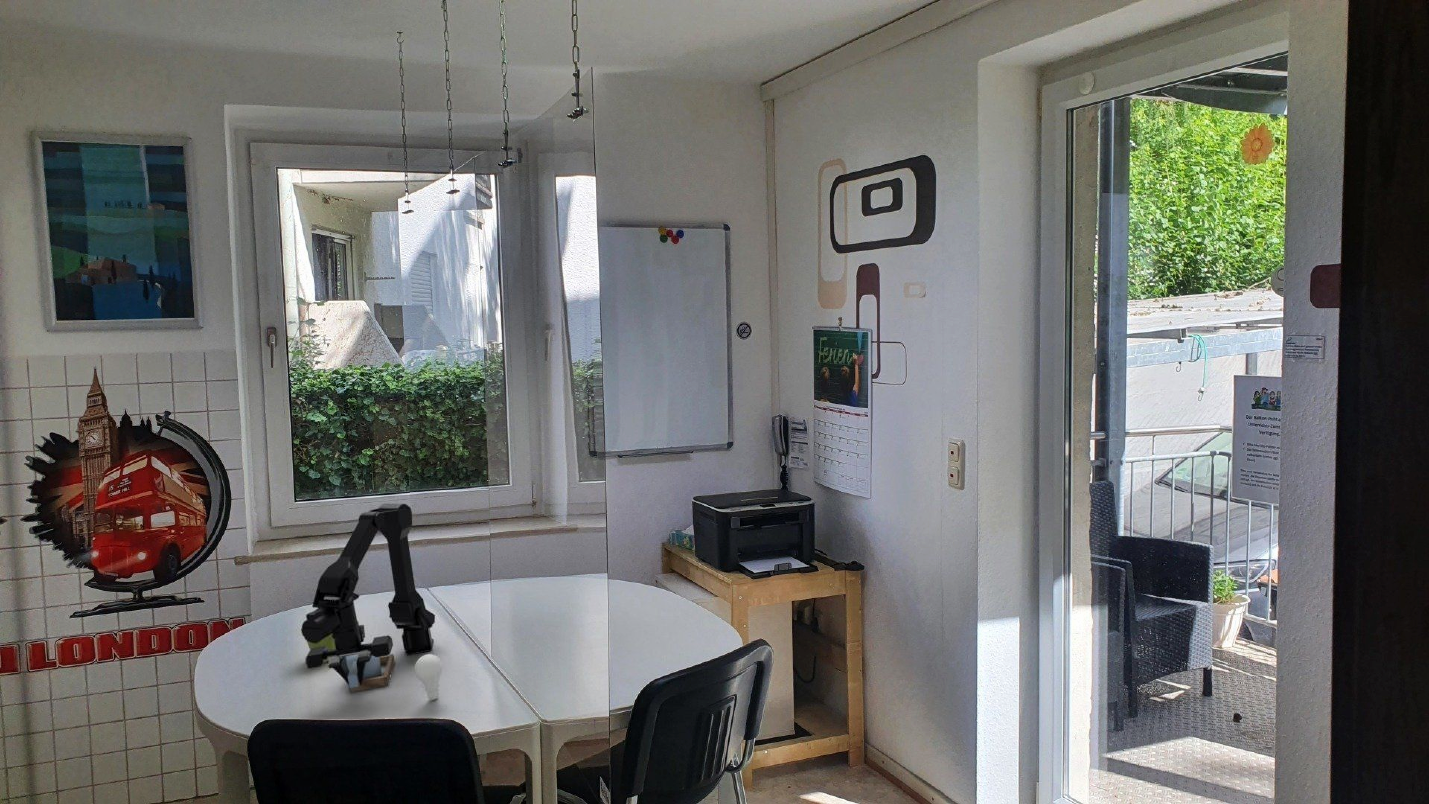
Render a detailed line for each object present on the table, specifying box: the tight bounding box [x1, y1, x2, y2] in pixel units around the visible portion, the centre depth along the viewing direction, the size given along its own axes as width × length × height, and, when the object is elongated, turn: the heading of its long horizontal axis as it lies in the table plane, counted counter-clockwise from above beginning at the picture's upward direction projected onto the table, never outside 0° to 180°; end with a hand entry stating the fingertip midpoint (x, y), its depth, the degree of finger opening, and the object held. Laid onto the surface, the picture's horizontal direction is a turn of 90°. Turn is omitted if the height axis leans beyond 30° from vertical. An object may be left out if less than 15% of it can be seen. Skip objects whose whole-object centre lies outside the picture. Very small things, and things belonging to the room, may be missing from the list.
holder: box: [348, 653, 396, 693], centre depth 238 cm, size 9×13×2 cm
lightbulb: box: [414, 653, 443, 701], centre depth 222 cm, size 6×6×11 cm
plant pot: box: [300, 631, 336, 664], centre depth 250 cm, size 9×9×9 cm
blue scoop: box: [346, 654, 383, 689], centre depth 234 cm, size 16×8×6 cm, turn 10°
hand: (356, 684), depth 228 cm, fingers closed on blue scoop, 2 cm apart
